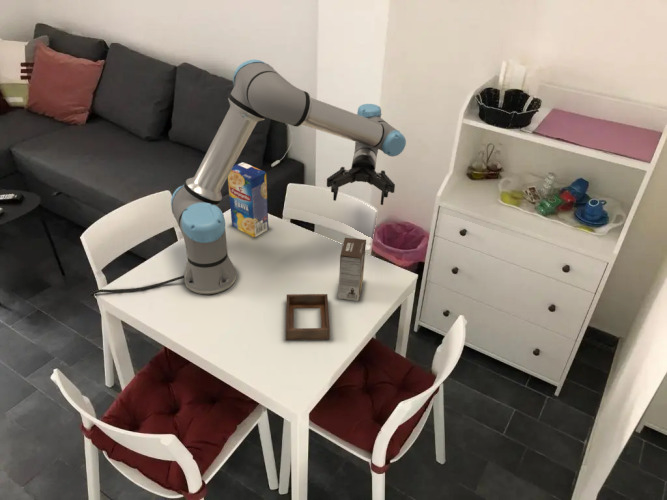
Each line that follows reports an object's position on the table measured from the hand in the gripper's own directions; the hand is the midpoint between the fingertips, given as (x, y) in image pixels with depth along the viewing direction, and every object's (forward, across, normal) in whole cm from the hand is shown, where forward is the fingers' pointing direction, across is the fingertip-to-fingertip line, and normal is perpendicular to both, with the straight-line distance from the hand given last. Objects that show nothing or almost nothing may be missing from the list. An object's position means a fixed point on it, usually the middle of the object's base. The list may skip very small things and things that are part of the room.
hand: (358, 198), depth 154 cm
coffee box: (+10, 0, -26) cm, 28 cm away
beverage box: (-18, +38, -26) cm, 49 cm away
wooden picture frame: (+25, +11, -26) cm, 37 cm away
